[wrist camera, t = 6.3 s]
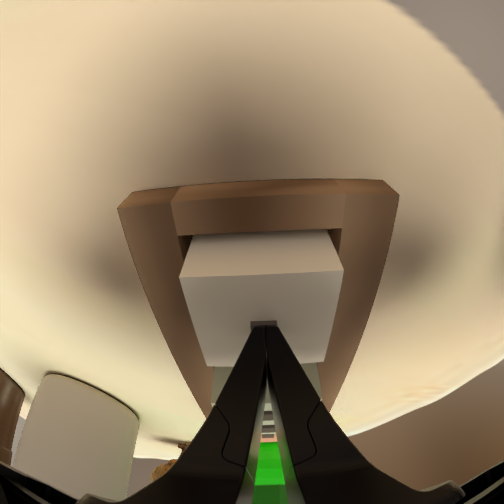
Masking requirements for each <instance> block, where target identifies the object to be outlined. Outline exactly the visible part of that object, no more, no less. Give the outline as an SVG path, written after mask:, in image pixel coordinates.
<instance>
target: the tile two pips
mask: <svg viewBox="0 0 504 504" xmlns="http://www.w3.org/2000/svg"><path fill="white" fill-rule="evenodd" d="M300 365H301V366H302V368H303V370H304V371H305V373H306V375H307V376H308V378H309V380H310V382H311V383H312V385H313V387H314V388H315V390H316V392H317V393H318V395H319V397H320V398H321V401H322V394H321V387H320V381H319V375H318V369H317V363H316V362H315V363H303V364H300ZM232 369H233V367H223V366H215V368H214V377H213V387H212V397H211V405H212V407H213V406H214V405H215V402H216V400H217V398H218V396H219V394H220V393H221V391H222V389H223V387H224V385H225V383H226V381H227V379H228V377H229V375H230V373H231V371H232ZM261 434H276V430H275V424H274V418H273V413H272V407H271V401H270V395H269V389H268V381H267V390H266V399H265V408H264V416H263V425H262V433H261Z"/></svg>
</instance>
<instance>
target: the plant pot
mask: <svg viewBox="0 0 504 504" xmlns="http://www.w3.org/2000/svg"><path fill="white" fill-rule="evenodd" d="M24 397H25V395H24V394H23V393H22V390H21V389H20V388H19V387H18V386H17V385H16V384H15V382H14V381H13V380H12V379H11V378H10V377H9V376H8V375H7V374H6V373H4V372H3V371H2V370H0V461H2V462H4V463H5V464H7V465H9V466H10V464H11V458H12V451H11V448H12V443H13V438H14V433H15V429H16V425H17V421H18V417H19V414H20V410H21V407H22V403H23V400H24Z"/></svg>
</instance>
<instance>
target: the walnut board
mask: <svg viewBox="0 0 504 504" xmlns="http://www.w3.org/2000/svg"><path fill="white" fill-rule="evenodd" d="M398 201H399V194H398V193H397V192H396V191H395V190H393V189H392V188H391V187H390V186H389V185H388V184H387V183H385V182H384V181H383V180H360V179H290V180H262V181H242V182H227V183H213V184H201V185H191V186H181V187H171V188H162V189H154V190H146V191H138V192H132V193H131V194H130V195H129V196H128V197H127V198H126V199H125V200H124V202H123V203H122V204H121V205H120V206H119V207H118V208H117V210H118V213H119V217H120V220H121V224H122V227H123V230H124V233H125V237H126V240H127V243H128V246H129V249H130V252H131V255H132V258H133V261H134V264H135V266H136V269H137V272H138V275H139V277H140V280H141V283H142V285H143V288H144V291H145V293H146V296H147V298H148V301H149V303H150V306H151V308H152V310H153V313H154V315H155V318H156V320H157V322H158V325H159V327H160V329H161V331H162V334H163V336H164V338H165V340H166V342H167V345H168V347H169V349H170V351H171V353H172V355H173V357H174V359H175V361H176V363H177V365H178V367H179V369H180V371H181V373H182V375H183V377H184V379H185V381H186V383H187V385H188V387H189V388H190V390H191V392H192V394H193V396H194V398H195V399H196V401H197V403H198V405H199V407H200V408H201V410H202V412H203V414H204V415H205V417H206V419H207V417H208V415H209V413H210V411H211V410H212V408H213V407H212V405H211V397H212V387H213V377H214V368H215V366H207V365H206V362H205V359H204V356H203V353H202V350H201V347H200V344H199V341H198V338H197V335H196V332H195V329H194V326H193V323H192V320H191V316H190V313H189V310H188V307H187V303H186V300H185V296H184V293H183V290H182V286H181V283H180V279H179V276H180V273H181V270H182V267H183V264H184V261H185V258H186V255H187V252H188V250H189V247H190V244H191V238H190V235H199V234H217V233H235V232H256V231H278V230H304V229H330V235H329V236H330V239H331V241H332V243H333V245H334V248H335V250H336V252H337V255H338V257H339V259H340V262H341V264H342V267H343V269H344V273H343V278H342V284H341V289H340V294H339V299H338V304H337V308H336V313H335V318H334V322H333V326H332V331H331V335H330V339H329V343H328V347H327V351H326V355H325V359H324V362H316V363H317V369H318V375H319V381H320V387H321V394H322V401H323V403H324V405H325V406H326V408H327V410H328V411H329V412H330V410H331V408H332V406H333V404H334V402H335V399H336V397H337V395H338V393H339V391H340V389H341V386H342V384H343V382H344V380H345V377H346V375H347V373H348V370H349V368H350V366H351V363H352V361H353V358H354V356H355V353H356V351H357V348H358V346H359V343H360V340H361V338H362V335H363V332H364V329H365V327H366V324H367V321H368V318H369V315H370V312H371V309H372V306H373V303H374V299H375V296H376V293H377V290H378V286H379V283H380V279H381V276H382V272H383V269H384V265H385V261H386V257H387V253H388V249H389V245H390V240H391V236H392V232H393V227H394V222H395V217H396V212H397V207H398Z"/></svg>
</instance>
